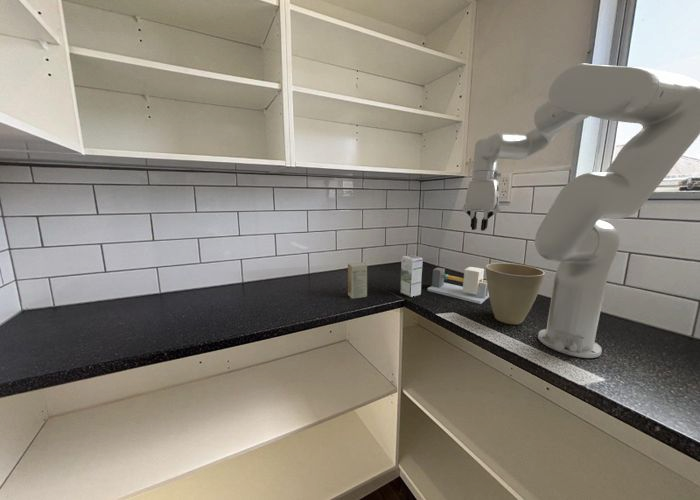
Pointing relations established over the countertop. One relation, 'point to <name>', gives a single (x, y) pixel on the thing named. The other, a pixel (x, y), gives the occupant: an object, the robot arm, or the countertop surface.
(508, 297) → the plant pot
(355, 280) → the skincare box
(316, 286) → the countertop surface
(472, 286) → the slotted white cube
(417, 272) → the syrup box
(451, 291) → the grey rod holder
